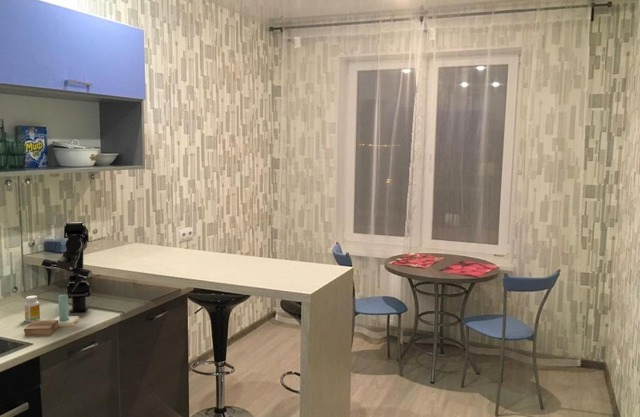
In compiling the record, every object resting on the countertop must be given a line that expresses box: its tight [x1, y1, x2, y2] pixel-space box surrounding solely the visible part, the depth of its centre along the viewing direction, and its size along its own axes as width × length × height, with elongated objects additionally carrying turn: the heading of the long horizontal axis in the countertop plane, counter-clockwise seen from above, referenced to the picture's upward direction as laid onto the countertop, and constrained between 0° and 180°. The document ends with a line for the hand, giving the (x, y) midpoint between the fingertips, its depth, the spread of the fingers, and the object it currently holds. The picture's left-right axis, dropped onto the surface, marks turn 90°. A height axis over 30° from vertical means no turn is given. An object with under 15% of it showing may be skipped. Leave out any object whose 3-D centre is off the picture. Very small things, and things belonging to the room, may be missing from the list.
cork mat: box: [58, 316, 82, 328], centre depth 218 cm, size 10×10×1 cm
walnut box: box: [23, 319, 59, 337], centre depth 207 cm, size 9×9×3 cm
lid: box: [53, 294, 80, 325], centre depth 217 cm, size 9×9×11 cm
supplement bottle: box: [23, 295, 41, 323], centre depth 220 cm, size 5×5×10 cm
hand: (60, 288), depth 219 cm, fingers open, 9 cm apart
